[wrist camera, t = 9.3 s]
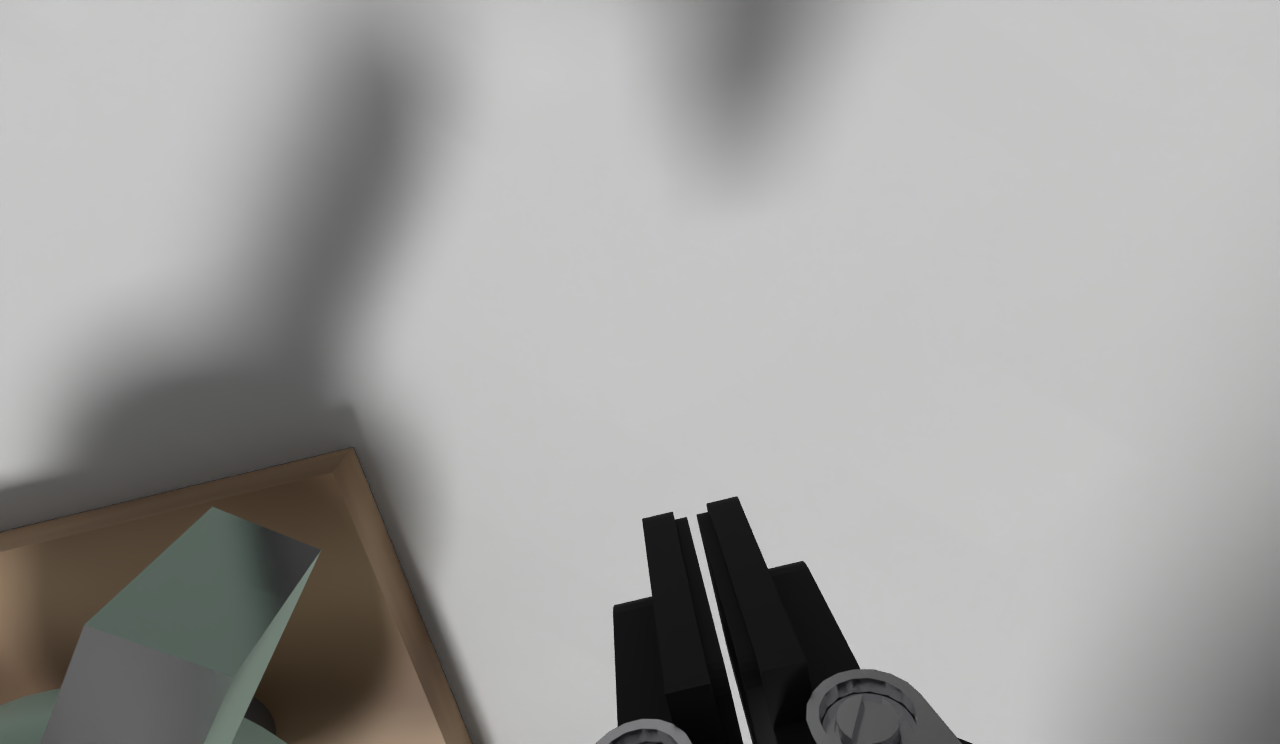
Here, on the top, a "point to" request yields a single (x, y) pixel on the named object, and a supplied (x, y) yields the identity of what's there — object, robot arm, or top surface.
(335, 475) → the walnut board
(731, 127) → the top surface
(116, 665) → the green door lever handle
